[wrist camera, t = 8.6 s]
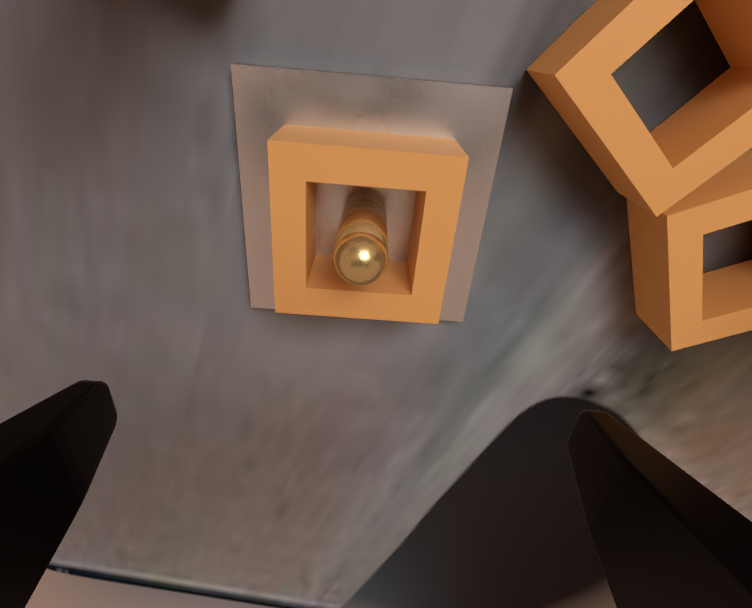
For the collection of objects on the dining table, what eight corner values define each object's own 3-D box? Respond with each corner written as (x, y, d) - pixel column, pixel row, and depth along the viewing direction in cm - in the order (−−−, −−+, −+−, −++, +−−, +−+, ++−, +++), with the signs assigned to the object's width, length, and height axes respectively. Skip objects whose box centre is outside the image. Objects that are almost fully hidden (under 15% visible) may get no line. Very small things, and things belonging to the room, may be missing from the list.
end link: (454, 139, 16) (469, 157, 14) (430, 287, 20) (438, 324, 17) (284, 124, 16) (267, 139, 14) (288, 276, 20) (274, 312, 17)
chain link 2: (797, 133, 17) (873, 150, 14) (782, 272, 20) (842, 306, 17) (626, 191, 18) (667, 216, 15) (635, 313, 21) (671, 351, 19)
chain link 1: (697, -100, 13) (773, -133, 11) (778, 66, 16) (856, 71, 13) (525, 69, 16) (554, 74, 13) (617, 191, 18) (656, 216, 15)
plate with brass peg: (508, 87, 16) (568, 107, 11) (460, 314, 21) (486, 400, 16) (235, 63, 16) (167, 73, 11) (254, 301, 21) (214, 383, 16)
